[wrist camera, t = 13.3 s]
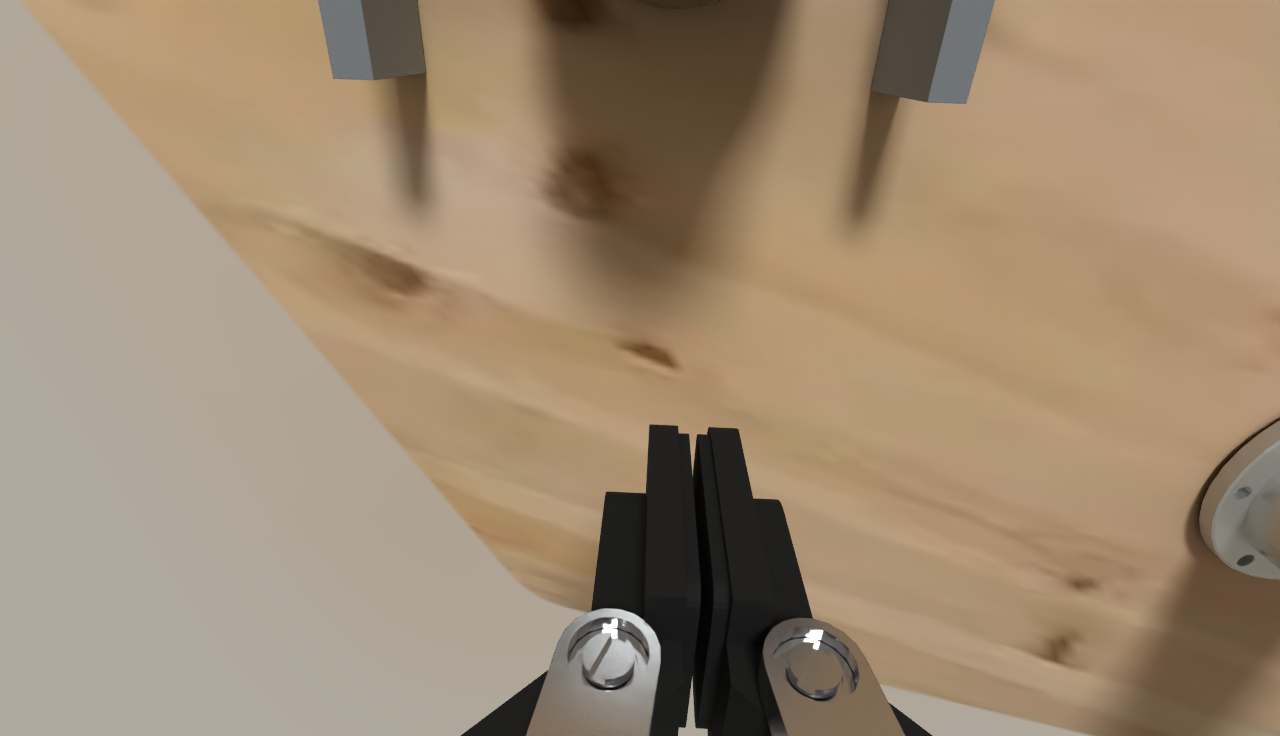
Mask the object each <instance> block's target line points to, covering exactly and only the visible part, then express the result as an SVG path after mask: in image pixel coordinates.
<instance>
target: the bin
mask: <svg viewBox="0 0 1280 736" xmlns="http://www.w3.org/2000/svg"><path fill="white" fill-rule="evenodd" d="M994 1H995V0H889V4H888V9H887V14H886V19H885V23H884V28H883V33H882V38H881V43H880V48H879V53H878V58H877V63H876V67H875V72H874V77H873V82H872V87H871V91H874V92H879V93H884V94H889V95H894V96H899V97H904V98H908V99H913V100H918V101H923V102H931V103H956V104H966V102H967V99H968V95H969V91H970V88H971V84H972V81H973V77H974V73H975V70H976V66H977V63H978V59H979V55H980V52H981V48H982V45H983V41H984V37H985V34H986V30H987V27H988V23H989V19H990V16H991V12H992V9H993V5H994ZM318 2H319V7H320V12H321V17H322V22H323V27H324V33H325V38H326V43H327V48H328V53H329V59H330V64H331V69H332V74H333V79H353V80H380V79H387V78H394V77H401V76H408V75H415V74H422V73H426V68H425V60H424V52H423V44H422V36H421V28H420V20H419V12H418V4H417V0H318Z"/></svg>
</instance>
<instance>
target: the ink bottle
mask: <svg viewBox="0 0 1280 736" xmlns="http://www.w3.org/2000/svg"><path fill="white" fill-rule="evenodd" d="M637 1H640V2H643V3H646V4H650V5H654V6H658V7H664V8H675V9H684V8H695V7H701V6H706V5H709V4H713V3H716V2H718V1H721V0H637Z"/></svg>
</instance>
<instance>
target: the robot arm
mask: <svg viewBox="0 0 1280 736" xmlns="http://www.w3.org/2000/svg"><path fill="white" fill-rule="evenodd" d="M1199 525H1200V533H1201V536H1202V538H1203V540H1204V542H1205V544H1206V546H1207V547H1208V548H1209V549H1210V550H1211V551H1212V552H1213V553H1214V554H1215V555H1216V556H1217V557H1218V558H1220V559H1221V560H1222V561H1223V562H1224V563H1225V564H1227V565H1228V566H1229V567H1230V568H1232V569H1234V570H1236V571H1238V572H1241V573H1243V574H1246V575H1248V576H1253V577H1259V578H1264V579H1280V420H1279V421H1277V422H1276V423H1274V424H1273V425H1271V426H1270V427H1268V428H1267V429H1265V430H1264V431H1262V432H1260V433H1259V434H1258V435H1257V436H1255V437H1254V438H1253V439H1252V440H1251V441H1249V442H1248V443H1247V444H1246V445H1244V446H1243V447H1242V448H1241V449H1240V450H1239V451H1238V452H1237V453H1236V454H1235V455H1234V456H1233V457H1232V458H1231V459H1230V460H1229V461H1228V462H1227V463H1226V464H1225V465H1224V466H1223V467H1222V469H1221V470H1220V472H1219V473H1218V474H1217V476H1216V477H1215V479H1214V480H1213V482H1212V483H1211V484H1210V486H1209V489H1208V491H1207V493H1206V495H1205V497H1204V499H1203V502H1202V506H1201V511H1200V516H1199ZM692 677H693V695H694V712H695V713H694V714H695V724H696V725H695V726H696V728H704V729H708V736H932V735H931V734H929V733H928V732H927V731H926V730H924V729H922V728H921V727H920V726H919V725H918V724H916V723H915V722H914V721H912V720H911V719H909V718H908V717H907V716H906V715H904V714H903V713H902V712H900V711H899V710H898V709H897V708H895V707H894V706H893V705H891V704H890V703H889V702H888V701H887V699H886V697H885V695H884V693H883V691H882V689H881V687H880V685H879V683H878V681H877V679H876V677H875V675H874V673H873V671H872V669H871V667H870V665H869V663H868V661H867V659H866V657H865V656H864V654H863V653H862V651H861V650H860V648H859V647H858V645H857V644H856V643H855V642H854V641H853V640H852V639H851V638H850V637H848V636H847V635H846V634H845V633H844V632H843V631H841V630H839V629H837V628H836V627H834V626H832V625H830V624H829V623H826V622H822V621H819V620H816V619H813V617H812V614H811V610H810V606H809V603H808V599H807V595H806V592H805V588H804V584H803V581H802V577H801V573H800V570H799V566H798V562H797V558H796V555H795V551H794V547H793V544H792V540H791V536H790V533H789V529H788V525H787V522H786V518H785V514H784V511H783V507H782V505H781V502H780V501H779V500H773V499H753V496H752V491H751V486H750V482H749V477H748V472H747V467H746V463H745V458H744V453H743V448H742V444H741V439H740V434H739V430H738V429H736V428H714V427H709V428H708V432H707V435H702V434H698V435H697V439H696V449H695V459H694V469H693V479H692V466H691V453H690V440H689V434H680V433H678V426H671V425H650V426H649V444H648V463H647V482H646V493H625V492H606V495H605V502H604V510H603V518H602V527H601V535H600V543H599V551H598V560H597V568H596V576H595V585H594V593H593V601H592V609H591V611H590V612H588V613H586V614H584V615H582V616H580V617H578V618H577V619H575V620H574V621H573V622H572V623H571V624H570V625H569V626H568V627H567V628H566V629H565V631H564V632H563V634H562V636H561V638H560V640H559V641H558V644H557V647H556V649H555V652H554V655H553V658H552V661H551V664H550V667H549V670H548V671H546V672H545V673H544V674H542V675H541V676H540V677H538V678H537V679H536V680H534V681H533V682H532V683H530V684H529V685H528V686H526V687H525V688H524V689H522V690H521V691H520V692H518V693H517V694H516V695H514V696H513V697H512V698H510V699H509V700H508V701H506V702H505V703H504V704H502V705H501V706H500V707H498V708H497V709H496V710H494V711H493V712H492V713H491V714H489V715H488V716H486V717H485V718H484V719H482V720H481V721H480V722H479V723H477V724H476V725H474V726H473V727H472V728H470V729H469V730H468V731H466V732H465V733H464V734H462V735H461V736H678V729H679V727H684V728H685V727H686V721H687V713H688V705H689V697H690V689H691V681H692Z"/></svg>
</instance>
